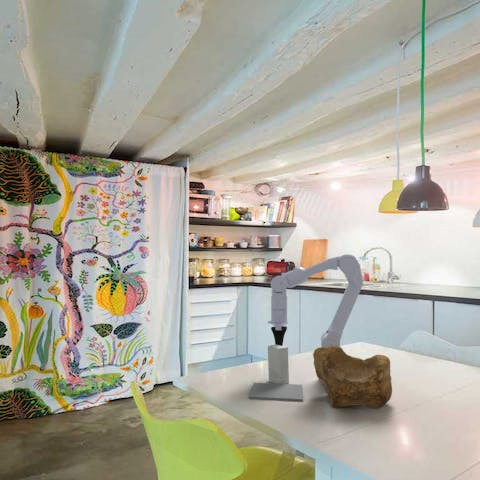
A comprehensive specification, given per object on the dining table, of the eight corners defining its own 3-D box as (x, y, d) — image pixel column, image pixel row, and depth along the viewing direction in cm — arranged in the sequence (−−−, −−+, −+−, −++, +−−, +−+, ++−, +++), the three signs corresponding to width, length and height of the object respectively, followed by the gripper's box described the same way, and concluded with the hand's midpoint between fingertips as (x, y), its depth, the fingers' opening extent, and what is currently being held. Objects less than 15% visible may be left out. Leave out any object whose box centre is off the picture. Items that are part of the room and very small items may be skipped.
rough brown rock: (300, 408, 117) (300, 356, 116) (316, 386, 132) (316, 341, 131) (386, 426, 106) (386, 370, 106) (393, 400, 121) (393, 351, 121)
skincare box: (289, 383, 137) (289, 346, 138) (280, 385, 134) (280, 348, 135) (276, 378, 142) (276, 343, 143) (267, 381, 139) (267, 345, 140)
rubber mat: (302, 386, 134) (302, 384, 134) (303, 401, 120) (303, 399, 120) (253, 384, 136) (253, 382, 136) (249, 398, 122) (249, 396, 122)
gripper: (269, 306, 155) (269, 342, 154) (266, 311, 141) (266, 351, 140) (288, 307, 154) (287, 343, 153) (287, 312, 140) (287, 352, 139)
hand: (279, 347), depth 147 cm, fingers closed
